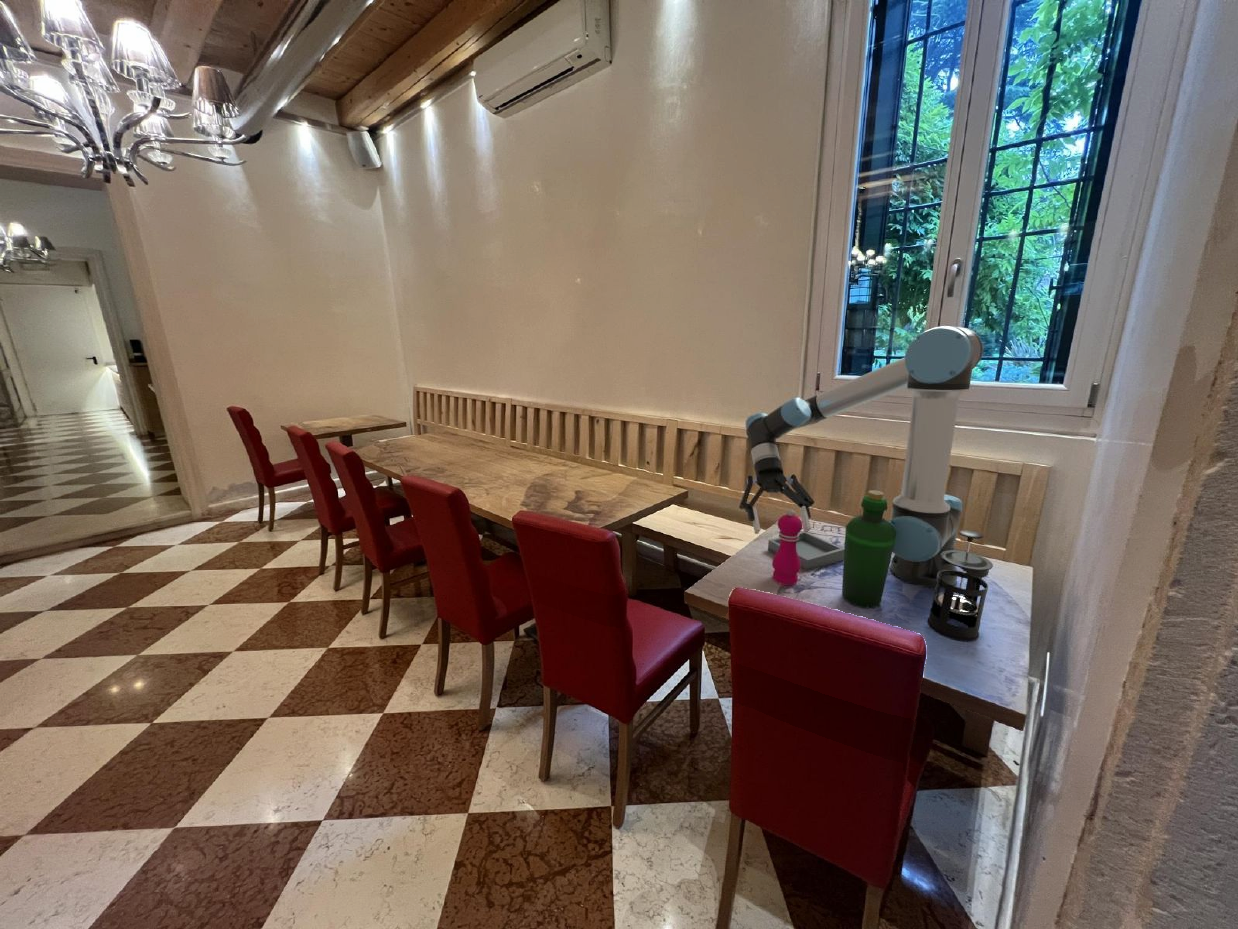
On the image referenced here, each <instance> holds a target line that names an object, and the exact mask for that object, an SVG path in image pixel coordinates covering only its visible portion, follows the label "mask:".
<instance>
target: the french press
mask: <svg viewBox="0 0 1238 929" xmlns="http://www.w3.org/2000/svg"><path fill="white" fill-rule="evenodd" d="M958 534H959V535H961V536H963V537H965V538H966V537H967V539H966V541H967V542H968V543H967V547H966V548H967V549H966V551H965V550H959V549H958V550H956V549H954V550H947V551H943V552H942V553H941V558H942V565H946V564H952V565H954V566H956V568H957V567H958V568H960V569H961V570H962V571H961V570H957V571H955V570H943V571H940V572H938V573H937V577H936V587H935V588H934V594H933V599H932V604H931V607H930V612H929V615H928V616H929V617H928V618H927V622H926V623H927V625H928V626H929V628H930V629H931V630H932V631H933V632H935V633H936V634H939V635H940V636H943V637H945V638H947V639H951V640H953V641H956V642H957V641H958V642H974V641H977V640H978V639H979V638H980V631H979V630H980V627H981V620H982V616H983V611H984V607H985V601H986V597H987V593H988V591H989V590H988V589H989V584H988V583H987V582H986V581H985V580H984V579H983V578H986V577H987V576H989V572H990V570H992V569H993V566H994V564H993V562H992V561H991V560H990V559H987V558H986V557H983V555H982V556H981V555H979V554H976V553H973V552H970V548H971V543H973V542H974V539H975V540H976V539H978V540H979V539H981V540H982V539H983V538H985V537H984V535H983V534H982V533H980V532H978V531H974V530H969V529H968V530H967V529H960V530H959V531H958ZM942 576H957V578H961V580H960V583H959V586H955V585H954V586H952V585H950V584H948V583H946V582H944V581H942ZM964 579H966V580H967V581H966V584H965V585H966V586H965V588H962V586H963V581H964ZM981 586H982V587H983V589H981ZM940 587H943V588H942V589H944V590H943V591H944V592H941V593H940V591H941V588H940ZM978 598H979V602H978ZM949 620H951V621H955V622H959V623H960V624H963V625H964V626H962V625H956V624H954V623H951V622H949Z"/></svg>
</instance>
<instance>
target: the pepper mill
mask: <svg viewBox="0 0 1238 929" xmlns="http://www.w3.org/2000/svg"><path fill="white" fill-rule="evenodd" d="M777 527H778V529H779V532H778V534H779V535H778V538H780V541H781V542H780V547H779V549H778V551H777V553H776V554H774V556H773V558H772V561H771V562H772V563H771V565H772V568H773V573H772V574H773V575H772V579H773V580H774V581H775V582H776V583H777V584H780V585H784V586H793V585H796V584H797V583H798V581H799V574H798V573H800V571H801V570H802V569H801V562H800V559H799V556H798V554H797V550H796V543H797V541H798V540H799V532H802V529H803V524H802V520H801V517H799V516H797V515H795V510H793V509H788V510H787V514H784V515H782V516H780V518H778V521H777Z"/></svg>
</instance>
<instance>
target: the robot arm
mask: <svg viewBox="0 0 1238 929" xmlns="http://www.w3.org/2000/svg"><path fill="white" fill-rule="evenodd" d="M983 353H984V345H983V341H982V339H981V338H980V336H979V335H978V334H977V333H976V332H975V331H973V330H972V329H969V328H968V327H967V328H966V327H962V326H952V325H949V326H948V325H942V326H935V327H933V328H930V329H927V330H925V331H923V332H921V333H920V334H918V335H917V336H916V337H915V338H914V339H913V340H912V341H911V342H910V343H909V345H908V347H907V349H906V351H905V353H904V354H905V355H904V357H902V358H900V359H898V360H894V361H892V362H890V363H888V364H885V365H884V366H882V367H879V368H877V369H875V370H873V371H870V372H868V373H865V374H863V375H861V376H858V377H856V378H854V379H851V380H849V381H847V382H843V383H842V384H840V385H837V386H835V387H833V388H830V389H828V390H825V391H823V392H821V393H819V394H816V395H814V396H812V397H809V398H807V399H803V398H800V397H798V396H797V397H793V398H791V399H789V400H788V401H785V402H784V403H783V404H782V405H780V406H779V407H777V408H775V409H774V410H773V411H772V412H771V411H770V413H768V414H767V413H764V412H758V413H756V414H752V415H750V416H748V418H746V420H745V428H746V429H745V432H746V436H747V441H748V443H749V447H750V448H749V449H750V454H751V457H752V458H751V459H752V463H753V467H754V472H755V473H754V474H755V476H756V477H754V476H752V475H748V477H747V478H746V480H745V489H744V492H743V495H742V497H741V501H740V503H739V507H738V508H739V509H740V510H745V512H746V513H747V517H748V518H747V519H748V521H749V522H752V526H753V530H754V534H760V532H761V525H760V520H759V514H758V512H757V507H754V506H755V505H756V503H757V501H758V500H759V499H760V497H761V495H762V494H763V493H764V492H766V493H768V494H769V493H776V494H777V493H780V494H782V495H784V496H786V497H787V498H788V499H790V501H792V502H793V503H794V504H796V506H798V507H799V510H798V512H799V516H800V520H801V521H802V529H803V531H804V532H808V533H809V531H810V530H811V529H812V525H811V523H810V519H811V517H812V516H811V515H812V514H811V511H810V508H811V507H812V506H813V505H814V504H815V500H814V499H813V497H812V496H811V495H810V494H809V493H808V492H807V491H806V489H805V488H804V487H803V485H801V483H800V482H799V481H798V479H797V476H796V475H795V474H791V475H790V476H786V475H785V474H784V469H783V465H782V461H781V458H780V452H779V449H778V445H777V440H778V439H780V438H781V437H783V436H785V435H786V434H788V433H790V432H793V430H796V429H800V428H804V427H806V426H810V425H811V426H812V425H815V424H818V423H819V422H821V421H824V420H826V419H828V418H831V417H834V416H835V415H839V414H841V413H844V412H847V411H850V410H852V409H855V408H857V407H860V406H862V405H865V404H868V403H870V402H871V403H872V402H873V401H876V400H878V399H881V398H884V397H886V396H889V395H892V394H894V393H898V392H900V391H903V390H905V389H906V390H907V391H908V392H909V393H911V394H912V396H913V400H912V406H911V407H912V408H911V414H910V421H909V422H910V423H909V429H908V430H909V431H908V437H907V446H906V453H905V454H906V455H905V461H904V467H903V468H904V469H903V477H902V482H901V483H902V485H901V492H900V494H899V495H897V496H896V497H894V498H893V500H892V507H891V513H890V518H889V519H890V520H887V521H888V522H889V523H890V524H891V525H892V526H893V527H894V529H895V531H896V532H897V534H896V538H895V543H894V547H893V551H892V554H894V555H893V557H891V560H890V567H891V568H890V570H892V571H891V572H892V573H893V574H894V575H895V574H896V575H897V576H896V575H895V576H896V577H898V576H899V577H898V578H900V579H901V578H902V580H903V579H904V580H903V581H905V582H908V583H911V584H914V585H917V586H922V587H926V588H933V589H935V587H936V577H937V573H938V572H940V571H943V570H955V571H958V570H957V566H954V565H952V564H946V565H942V558H941V553H942V552H943V551H947V550H955V545H956V542H957V536H958V535H957V534H958V532H959V531H958V530H959V524H960V519H961V516H962V514H961V513H963V502H962V500H961V499H960V498H958V497H956V496H953V495H950V494H945V493H946V488H947V480H948V472H949V465H950V460H951V453H952V447H953V440H954V434H955V429H956V422H957V415H958V408H959V404H960V403H959V402H960V398H961V396H963V395H964V394H965V393H967V392H968V391H970V387H971V386H970V385H971V380H972V374H973V370H974V368H976V367H977V365H978V364H979V363H980V361H981V359H982V357H983ZM755 483H756V485H758V486H759V489H758V490H757V491H756V493H755V494H754V496H753V497H752V499H751V500H750V502H749V503H747V502H748V499H749V496H750V493H751V490H752V488H753V486H754V485H755ZM957 579H958V577H957V576H942V581H944V582H946V583H948V584H950V585H952V586H955V585H956V584H957ZM940 589H944V588H943V587H940Z"/></svg>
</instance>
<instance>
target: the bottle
mask: <svg viewBox="0 0 1238 929" xmlns="http://www.w3.org/2000/svg"><path fill="white" fill-rule="evenodd" d="M884 495H885V493H884V492H883V491H881V490H875V489H872V490H868V491H867V494H866V495H864V496H863V497H862V498H863V499H862V500H861V504H860V506H861V507H862V508H863V509H862V514H860V515H857V516H854V517H852V519H850V521H849V522H848V523H847V524H846V525H845V534H844V535H845V537H844V560H843V571H842V585H841V586H842V587H841V588H842V589H841V595H842V598H843V599H844V600H845V601H846V602H849V604H852V605H853V604H854V605H853V606H858V607H860V608H867V607H868V608H871V609H872V608H876V607H879V606H880V604H881V602H882V598H883V595H884V590H885V586H886V583H887V582H886V581H887V577H888V573H889V568H890V566H891V561H892V555H893V552H892V551H893V547H894V543H895V538H896V534H897V532H896V531H895V529H894V527H893V526H892V525H891V524H890V523H889V522H888V521H889V520H887V519H886V518H884V512H885V511H887V510H888V501H887V500H888V499H887V498H886V497H885V496H884ZM868 608H867V609H868Z"/></svg>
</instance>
